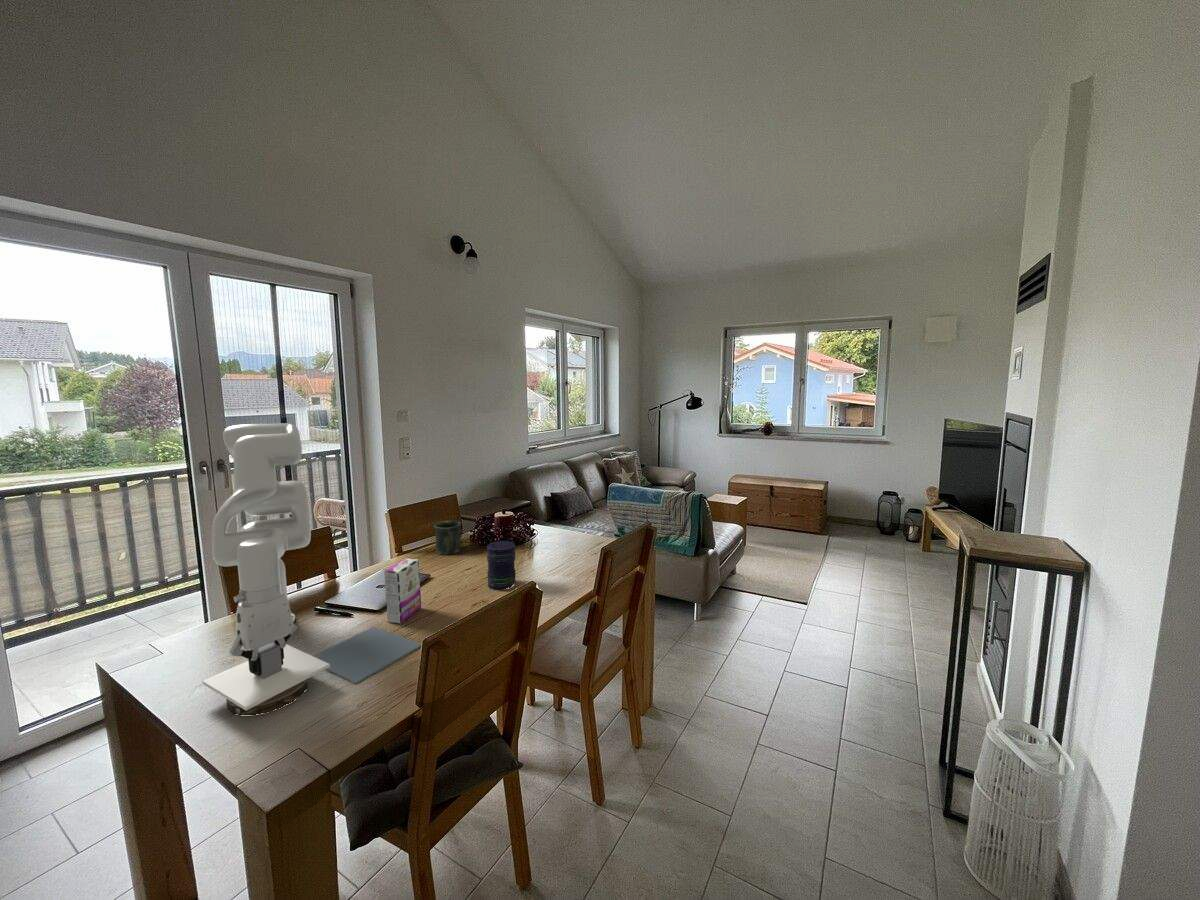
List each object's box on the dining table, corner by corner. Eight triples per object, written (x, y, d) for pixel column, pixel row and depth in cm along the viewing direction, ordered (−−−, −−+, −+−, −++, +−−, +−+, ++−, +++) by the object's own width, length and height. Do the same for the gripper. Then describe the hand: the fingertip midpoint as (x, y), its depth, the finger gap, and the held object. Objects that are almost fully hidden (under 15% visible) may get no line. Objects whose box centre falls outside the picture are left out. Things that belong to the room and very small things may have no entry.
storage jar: (518, 580, 181) (518, 541, 179) (511, 591, 171) (510, 550, 169) (492, 579, 182) (491, 540, 180) (483, 590, 172) (482, 548, 170)
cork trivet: (264, 672, 123) (263, 661, 122) (324, 677, 121) (323, 665, 121) (207, 714, 107) (206, 702, 106) (275, 720, 105) (274, 707, 105)
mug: (429, 553, 207) (428, 526, 206) (451, 543, 221) (450, 517, 219) (450, 557, 204) (449, 529, 202) (471, 546, 217) (471, 520, 216)
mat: (306, 661, 127) (305, 659, 127) (374, 628, 145) (374, 626, 144) (355, 684, 118) (355, 682, 118) (422, 646, 135) (422, 644, 135)
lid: (202, 684, 110) (199, 655, 109) (286, 646, 125) (284, 621, 124) (245, 710, 101) (243, 679, 100) (329, 667, 117) (328, 640, 116)
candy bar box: (407, 606, 159) (405, 557, 156) (421, 608, 158) (419, 558, 156) (386, 622, 148) (383, 570, 146) (401, 624, 147) (398, 572, 145)
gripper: (227, 611, 102) (235, 693, 104) (308, 583, 116) (313, 655, 119) (209, 603, 105) (217, 682, 108) (289, 577, 120) (295, 647, 122)
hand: (267, 667), depth 113 cm, fingers closed on lid, 4 cm apart
